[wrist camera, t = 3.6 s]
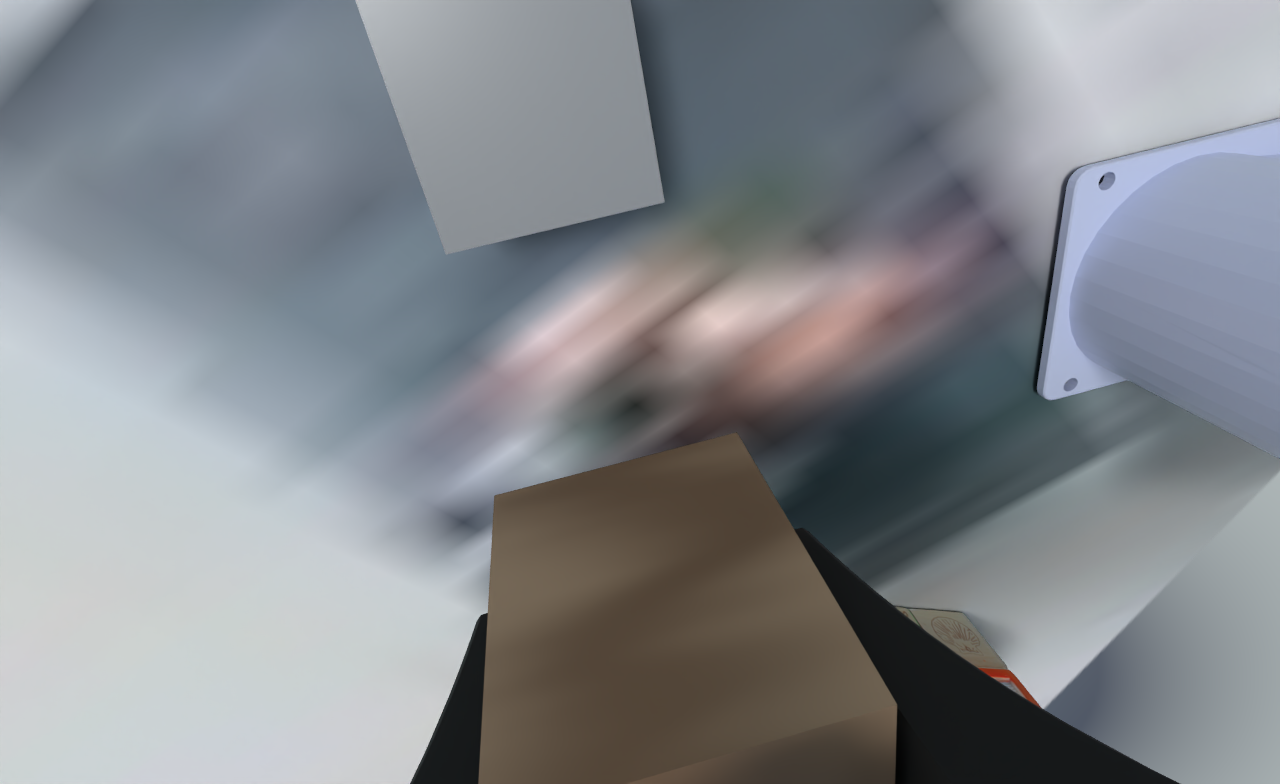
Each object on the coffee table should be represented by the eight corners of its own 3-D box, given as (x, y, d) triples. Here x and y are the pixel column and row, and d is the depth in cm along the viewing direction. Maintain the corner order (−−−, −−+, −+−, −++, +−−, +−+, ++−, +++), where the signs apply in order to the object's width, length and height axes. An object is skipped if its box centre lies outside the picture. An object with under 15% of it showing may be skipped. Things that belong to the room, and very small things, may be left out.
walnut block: (737, 432, 11) (897, 704, 7) (759, 601, 14) (891, 897, 9) (494, 495, 11) (476, 827, 6) (558, 657, 13) (580, 994, 8)
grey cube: (591, -32, 14) (619, -67, 10) (629, 169, 16) (664, 202, 13) (398, 9, 14) (351, -11, 10) (463, 208, 16) (446, 254, 12)
